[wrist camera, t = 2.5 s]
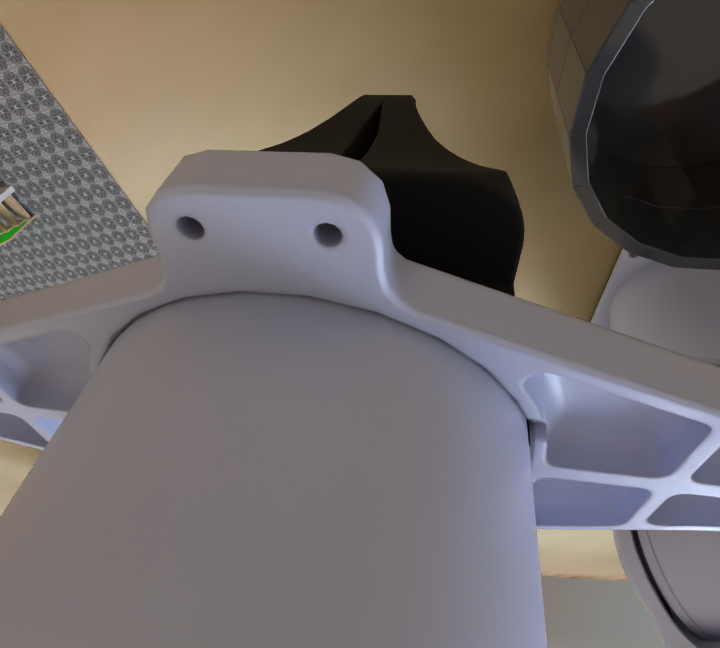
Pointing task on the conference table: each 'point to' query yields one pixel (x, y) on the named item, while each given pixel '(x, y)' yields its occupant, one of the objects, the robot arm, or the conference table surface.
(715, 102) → the pot
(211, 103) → the conference table surface
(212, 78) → the conference table surface
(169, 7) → the conference table surface
